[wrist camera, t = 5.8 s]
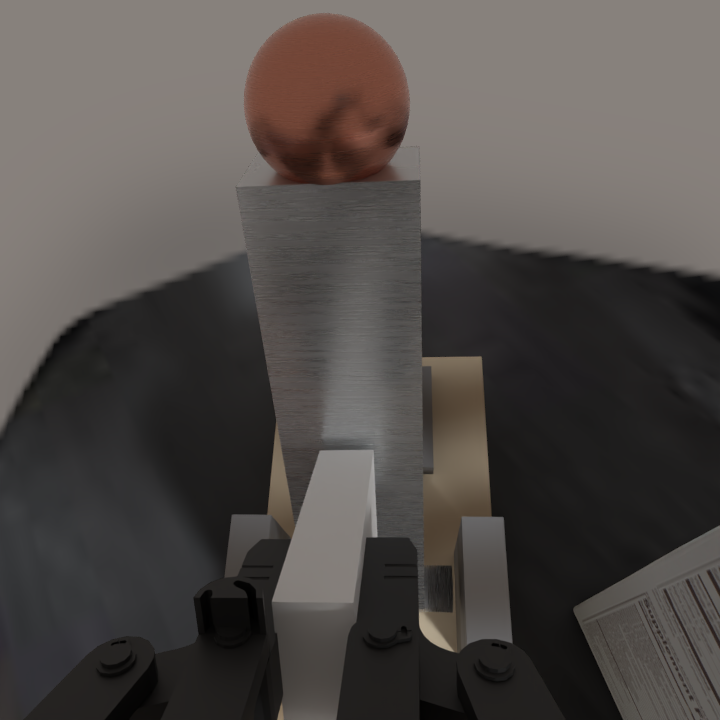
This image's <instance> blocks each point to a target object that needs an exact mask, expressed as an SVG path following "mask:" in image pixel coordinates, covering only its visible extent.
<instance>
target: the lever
mask: <svg viewBox="0 0 720 720" xmlns="http://www.w3.org/2000/svg"><path fill="white" fill-rule="evenodd" d="M409 108H410V98H409V90H408V84H407V80H406V76H405V73H404V70H403V67H402V65H401V63H400V61H399V59H398V57H397V55H396V54H395V52H394V51H393V49H392V48H391V46H390V45H389V44H388V43H387V42H386V41H385V40H384V39H383V38H382V37H381V36H380V35H379V34H378V33H377V32H376V31H374V30H373V29H372V28H370V27H369V26H367V25H366V24H364V23H362V22H360V21H357V20H355V19H353V18H350V17H347V16H343V15H339V14H330V13H319V14H312V15H307V16H304V17H300V18H297V19H295V20H293V21H291V22H289V23H287V24H286V25H284V26H282V27H281V28H280V29H278V30H277V31H276V32H274V33H273V34H272V35H271V36H270V37H269V38H268V39H267V40H266V42H265V43H264V44H263V45H262V46H261V48H260V49H259V51H258V52H257V54H256V56H255V57H254V60H253V62H252V64H251V66H250V69H249V72H248V75H247V79H246V84H245V91H244V110H245V117H246V122H247V126H248V129H249V133H250V135H251V138H252V140H253V142H254V144H255V146H256V148H257V150H258V151H259V153H258V154H257V155H256V156H255V158H254V160H253V161H252V163H251V164H250V166H249V167H248V169H247V170H246V172H245V173H244V175H243V176H242V178H241V180H240V181H239V183H238V184H237V186H236V191H237V197H238V203H239V208H240V214H241V219H242V226H243V231H244V237H245V243H246V249H247V254H248V260H249V266H250V271H251V277H252V283H253V289H254V294H255V300H256V306H257V312H258V317H259V323H260V329H261V334H262V340H263V346H264V352H265V357H266V363H267V369H268V374H269V380H270V386H271V392H272V397H273V403H274V409H275V415H276V420H277V426H278V432H279V437H280V443H281V449H282V455H283V460H284V466H285V472H286V478H287V483H288V489H289V495H290V500H291V506H292V512H293V518H294V523H295V527H296V524H297V521H298V518H299V514H300V511H301V508H302V505H303V502H304V499H305V496H306V492H307V489H308V486H309V483H310V480H311V477H312V474H313V470H314V467H315V464H316V461H317V458H318V455H319V452H320V450H373V452H374V473H375V495H376V516H377V537H408V538H409V539H410V540H411V542H412V543H413V545H414V546H415V547H416V549H417V554H418V591H419V612H451V613H453V579H452V566H450V565H424V516H423V414H422V312H421V214H420V213H421V210H420V153H419V146H418V147H400V145H401V142H402V140H403V138H404V135H405V131H406V128H407V125H408V119H409V110H410V109H409Z"/></svg>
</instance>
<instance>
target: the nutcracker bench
mask: <svg viewBox="0 0 720 720" xmlns="http://www.w3.org/2000/svg"><path fill="white" fill-rule="evenodd" d="M422 414H423V516H424V565H450V566H452V579H453V613H451V612H419V626H420V629H421V631H422V633H423V634H424V636H425V637H426V638H427V639H428V640H429V641H430V642H432V643H433V644H435V645H437V646H438V647H441V648H443V649H446V650H449V651H452V652H456V653H460V651H461V650H462V649H463V648H464V647H465V646H467V645H468V644H469V643H472V642H475V641H478V640H481V639H498V640H502V641H506V642H510V643H512V630H511V616H510V602H509V587H508V573H507V559H506V545H505V531H504V517H492V515H491V499H490V483H489V467H488V451H487V435H486V419H485V403H484V387H483V371H482V357H422ZM294 530H295V523H294V518H293V512H292V506H291V500H290V495H289V489H288V483H287V478H286V472H285V466H284V460H283V455H282V449H281V443H280V437H279V432H278V426H277V420H276V430H275V440H274V451H273V461H272V471H271V482H270V492H269V503H268V513H267V515H236V514H232V518H231V526H230V535H229V543H228V551H227V559H226V568H225V576H224V578H226V577H235V576H238V573H239V571H240V568H242V564H243V561H244V559H245V557H246V554H247V552H248V551H249V550H250V549H251V548H252V547H253V546H254V545H255V544H256V543H258V542H259V541H260V540H261V539H292V536H293V533H294ZM277 720H284V717H283V707H282V702H281V706H280V710H279V714H278V719H277Z"/></svg>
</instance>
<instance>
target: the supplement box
mask: <svg viewBox="0 0 720 720" xmlns="http://www.w3.org/2000/svg"><path fill="white" fill-rule="evenodd" d="M573 611H574V614H575V616H576V618H577V620H578V622H579V624H580V626H581V629H582V631H583V633H584V635H585V637H586V640H587V642H588V644H589V646H590V648H591V651H592V653H593V655H594V657H595V659H596V661H597V664H598V666H599V668H600V670H601V672H602V675H603V677H604V679H605V681H606V683H607V685H608V688H609V690H610V692H611V694H612V696H613V699H614V701H615V703H616V705H617V707H618V710H619V712H620V714H621V716H622V718H623V720H720V525H719V526H718V527H716V528H714V529H712V530H710V531H708V532H707V533H705V534H703V535H701V536H699V537H697V538H695V539H694V540H692V541H690V542H688V543H686V544H684V545H682V546H681V547H679V548H677V549H675V550H673V551H672V552H670V553H668V554H666V555H665V556H663V557H661V558H659V559H658V560H656V561H654V562H652V563H651V564H649V565H647V566H646V567H644V568H642V569H640V570H639V571H637V572H635V573H634V574H632V575H630V576H628V577H627V578H625V579H623V580H621V581H619V582H618V583H616V584H614V585H612V586H611V587H609V588H607V589H605V590H604V591H602V592H600V593H598V594H596V595H595V596H593V597H591V598H589V599H587V600H586V601H584V602H582V603H581V604H579V605H577V606H575V607H574V609H573Z"/></svg>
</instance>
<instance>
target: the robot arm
mask: <svg viewBox="0 0 720 720" xmlns="http://www.w3.org/2000/svg"><path fill="white" fill-rule="evenodd" d="M194 605H195V611H196V618H197V625H198V632H199V635H198V637H197V639H196V642H195V643H193V644H191V645H189V646H186V647H183V648H179V649H175V650H171V651H166V652H162V653H158V654H155V651H154V648H153V646H152V645H151V643H150V642H149V641H148V640H145V639H143V638H141V637H129V636H126V637H122V638H117V639H112V640H110V641H108V642H106V643H104V644H102V645H100V646H98V647H97V648H95V649H94V650H93V651H92V652H90V653H89V654H88V655H87V656H86V657H85V658H84V659H83V660H82V661H81V662H80V663H79V664H78V665H77V666H76V667H75V668H74V669H73V670H72V671H71V672H70V673H69V674H68V675H67V676H66V677H65V678H64V679H63V680H62V681H61V682H60V683H59V684H58V685H57V686H56V687H55V688H54V689H53V690H52V691H51V692H50V693H49V694H48V695H47V696H46V697H45V698H44V699H43V700H42V701H41V702H40V703H39V704H38V706H37V707H36V708H35V709H34V710H33V711H32V712H31V713H30V714H29V715H28V716H27V717H26V718H25V719H24V720H277V719H278V714H279V710H280V706H281V702H282V707H283V717H284V720H565V718H564V716H563V714H562V713H561V711H560V709H559V707H558V706H557V704H556V702H555V700H554V699H553V697H552V695H551V693H550V692H549V690H548V688H547V687H546V685H545V683H544V681H543V680H542V678H541V676H540V674H539V673H538V671H537V669H536V667H535V666H534V664H533V662H532V660H531V659H530V658H529V657H528V655H527V654H526V653H525V652H524V651H523V650H522V649H520V648H519V647H517V646H515V645H514V644H512V643H510V642H506V641H502V640H498V639H481V640H478V641H475V642H472V643H469V644H468V645H467V646H465V647H464V648H463V649H462V650H461V651H460V653H456V652H452V651H449V650H446V649H443V648H441V647H438V646H437V645H435V644H433V643H432V642H430V641H429V640H428V639H427V638H426V637H425V636H424V634H423V633H422V631H421V629H420V626H419V591H418V554H417V549H416V547H415V546H414V545H413V543H412V542H411V540H410V539H409V538H408V537H377V516H376V495H375V473H374V452H373V450H320V452H319V455H318V458H317V461H316V464H315V467H314V470H313V474H312V477H311V480H310V483H309V486H308V489H307V492H306V496H305V499H304V502H303V505H302V508H301V511H300V514H299V518H298V521H297V524H296V527H295V530H294V533H293V536H292V539H261V540H260V541H259V542H258V543H256V544H255V545H254V546H253V547H252V548H251V549H250V550H249V551H248V552H247V554H246V557H245V559H244V561H243V564H242V568H240V571H239V573H238V576H235V577H226V578H222V579H219V580H216V581H213V582H210V583H209V584H207V585H206V586H204V587H203V588H201V589H200V590H199V591H198V593H197V594H196V595H195V596H194Z"/></svg>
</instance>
